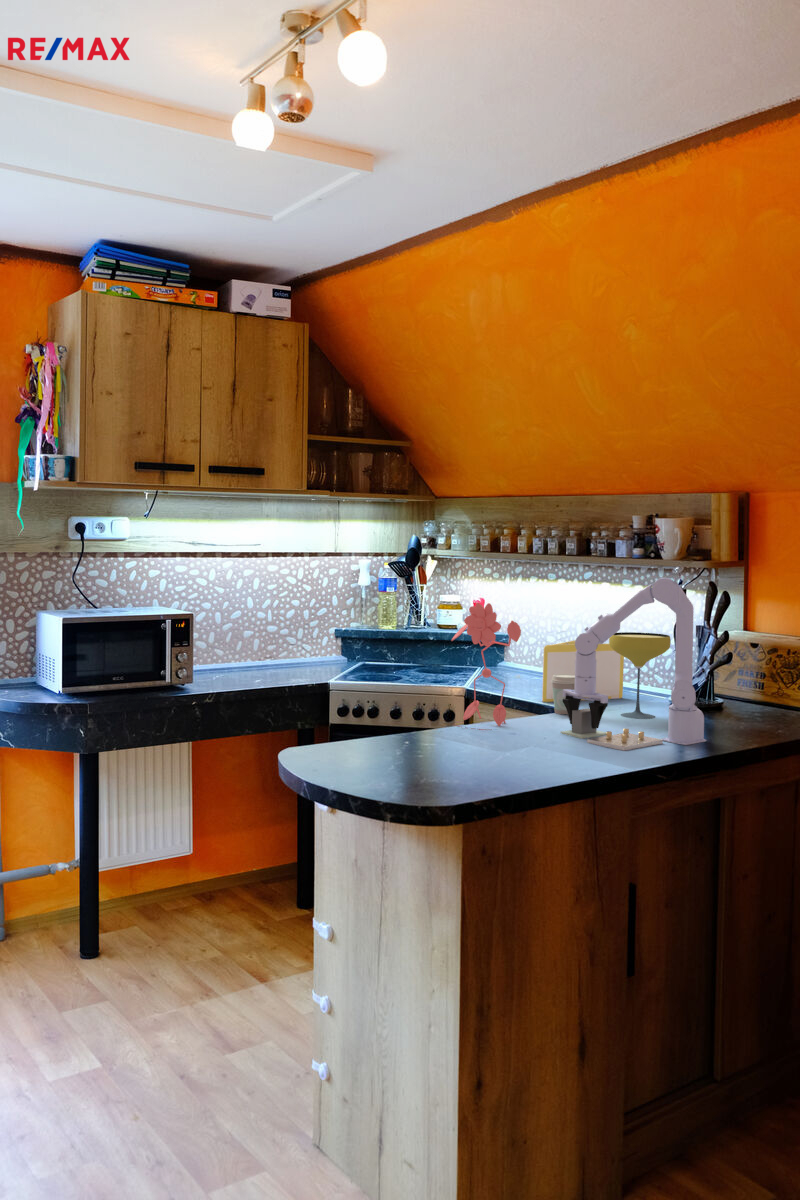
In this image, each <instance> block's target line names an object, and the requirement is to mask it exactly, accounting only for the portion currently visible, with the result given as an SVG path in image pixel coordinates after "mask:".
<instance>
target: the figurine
mask: <svg viewBox="0 0 800 1200" xmlns="http://www.w3.org/2000/svg"><path fill="white" fill-rule="evenodd" d="M493 608H494V607H493V606H492V604H491V603H490V602H488V603H487V604H486V605H485V607H484V606H483V605H482V604H481V603H480V602H476V603H475V606H474V605H472V606H470V607H469V609H468V611H469V613H470V615H468V616H466V617H465V618H464V620H463V621H464V625H463V626H462V627H461V628H460V629H459V630H458V631H457V632H456V633H455V634H454V636H453V637H452V638H451V640H450V641H451V642H453V641H454V640H456V639H458V638H459V637H460V636H461V635H462V634H463V633H464V632H465V631H466V635H468V636H471V641H472V643H473V644H474V645H478V644H479V646H480V647H483V646H485V647H484V648H483V649H481V651H480V652H481V657H482V658H481V659H482V661H483V665H484V669H482V671H481V674H480V675H478V676H477V677H475V678H474V680H473V690H474V691H473V696H474V699H473V702H471V703H470V704H469V705H468V706H467V707H466V709H465V711H464V713H463V716H462V717H463V718H462V719H463V720H464V721H467V720H469V719H470V718H471V717H472V716H473V715H474V714H476V712H477V715H478V718H479V720H480V719H482V716H481V713H480V709H479V706H480V702H479V700H476V696H477V695H476V680H477V679H478V678H479V679H480V678H481V677H482V676H483V678H485V679H488V678H490V677H491V678H493V679H494V680H496V681H498V682H500V683H501V684H503V687H502V693H501V697H500V703H499V704H497V705H496V706H495V707H494V709H493V711H492V716H493V717H492V719H493V720H494V722H495V723H496V725H497V726H498V727H500V726H501V725H502V724H506V723H507V722H506V717H507V710H506V707H505V706H504V705H503V703H502V702H503V698H504V692H505V689H506V688H505V687H506V683H505V682H503V681H502V680H500V679H498V678H496V677H495V676H492V671H491V669H489V668H488V667H487V666H486V660H485V656H484V651H486V650H488V648H489V647H492V645H495V644H498V645H502V646H506V647H510V646H511V642H512V640H513V641H514V642H515V643H517V642H518V641H519V640H520V637H521V635H522V629H521V627H520V624H518V623H517V622H516V621H514V620H511V621H510V622H509V623H508V625H507V627H506V632H507V635H508V638H509V639H508V643H504V642H499V641H496V638H497V637H496V636H497V635H496V634H495V633H497V632H499V631H500V629H501V628H502V625H501V623H500V622H497V615H498V614H497V613H496V611H495V612H494V610H493ZM451 725H452V726H455V727H457V728H462V726H459V725H456V724H454V723H453V724H451ZM464 727H465V728H464V729H467V727H466V726H464ZM470 728H471V730H475V728H474V727H473V728H472V727H470ZM478 730H479V731H491V729H488V728H487V729H486V728H478Z"/></svg>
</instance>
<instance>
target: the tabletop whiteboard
mask: <svg viewBox="0 0 800 1200" xmlns="http://www.w3.org/2000/svg"><path fill="white" fill-rule="evenodd" d="M575 641H576V639H575V640H569V641H564V642H563V641H562V642H559V643H554V644H546V645H544V647H543V657H542V660H543V661H542V689H541V690H542V691H541V699H542V700H541V701H542V702H543V703H549V702H551V703H552V702H553V703H554V698H553V686H552V682H551V681H552V678H553V675H557V674H568V675H575V660H576V651H577V650H576V648H575ZM595 651H596V661H597V663H596V693H599V694H602V695H607V696H608V700H611V699H622V698H623V694H624V693H623V692H624V691H623V689H624V668H625V667H624V665H625V664H624V663H625V657H624V656H622V655H620V654H619V653H617V652H616V651H614V650H613V649H612V648H611V647H610V644H609V642H608V643H603V644H598V647H597V649H596V650H595ZM585 698H588V697H585ZM581 701H585V700H584V699H581Z"/></svg>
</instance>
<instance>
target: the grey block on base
mask: <svg viewBox="0 0 800 1200" xmlns="http://www.w3.org/2000/svg"><path fill="white" fill-rule="evenodd" d="M597 729H598V728H595V729H593V728H592V727H591V712H590V708H582V709H578V710H572V724H571V729H570V730H564V731H563V730H561V731H560V734H561V733H562V734H561V735H565V734H566V736H569V735H570V737H573V736H574V738H578V739H591V738H597V737H603V736H606V732H607V731H600V730H597Z"/></svg>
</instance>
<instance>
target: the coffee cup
mask: <svg viewBox="0 0 800 1200" xmlns="http://www.w3.org/2000/svg"><path fill="white" fill-rule="evenodd" d="M551 682H552V686H553V698H554V701H553V710H554V713H555V714H557V715H561V714H568V712H567V709H566V707H565V705H564V703H563V701H562V699H565V698H566V697H563V690H564V689H570V690H575V675H568V674H557V675H553V678H552V681H551Z"/></svg>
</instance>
